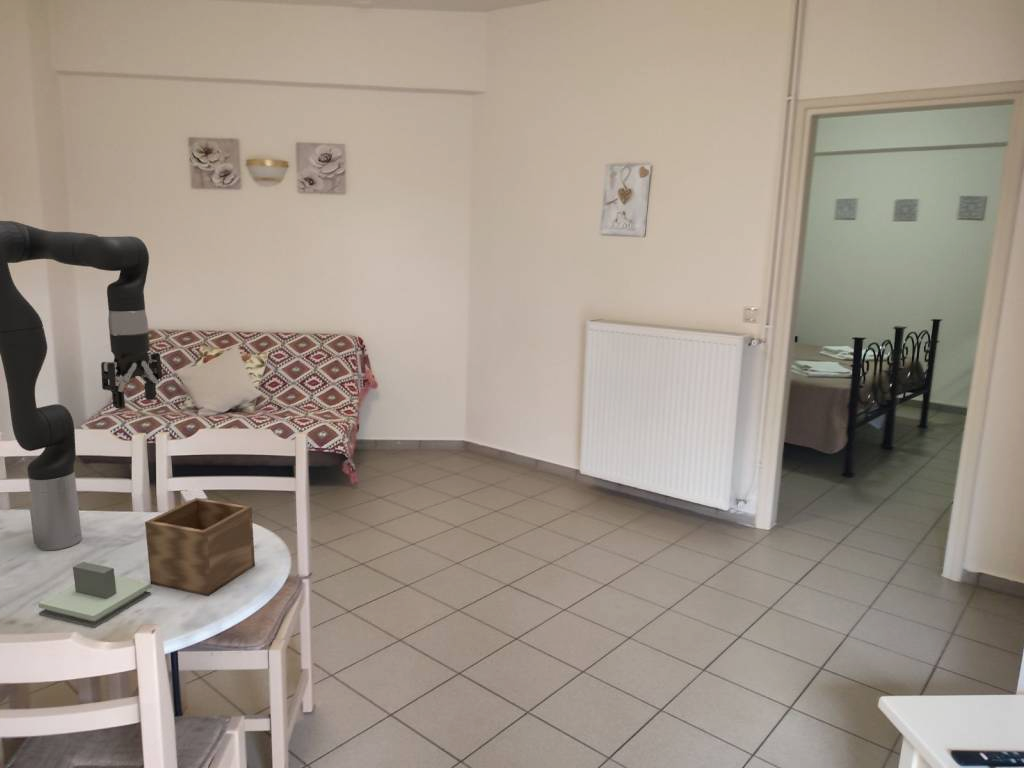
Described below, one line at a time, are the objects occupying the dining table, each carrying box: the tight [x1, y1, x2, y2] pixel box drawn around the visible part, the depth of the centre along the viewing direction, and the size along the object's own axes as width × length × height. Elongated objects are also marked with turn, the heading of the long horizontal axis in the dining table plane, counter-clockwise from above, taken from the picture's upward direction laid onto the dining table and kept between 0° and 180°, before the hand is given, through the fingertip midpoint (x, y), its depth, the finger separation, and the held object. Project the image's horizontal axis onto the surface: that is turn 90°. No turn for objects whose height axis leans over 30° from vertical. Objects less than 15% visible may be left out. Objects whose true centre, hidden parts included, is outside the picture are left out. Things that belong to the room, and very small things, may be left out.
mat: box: [38, 590, 152, 629], centre depth 150 cm, size 14×14×1 cm
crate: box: [144, 498, 256, 597], centre depth 162 cm, size 15×15×14 cm
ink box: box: [180, 487, 209, 505], centre depth 180 cm, size 9×5×12 cm, turn 33°
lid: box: [37, 561, 152, 622], centre depth 149 cm, size 14×14×8 cm
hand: (135, 403), depth 164 cm, fingers open, 8 cm apart
